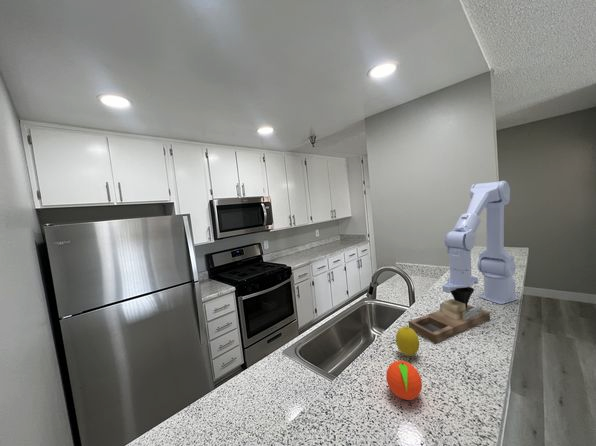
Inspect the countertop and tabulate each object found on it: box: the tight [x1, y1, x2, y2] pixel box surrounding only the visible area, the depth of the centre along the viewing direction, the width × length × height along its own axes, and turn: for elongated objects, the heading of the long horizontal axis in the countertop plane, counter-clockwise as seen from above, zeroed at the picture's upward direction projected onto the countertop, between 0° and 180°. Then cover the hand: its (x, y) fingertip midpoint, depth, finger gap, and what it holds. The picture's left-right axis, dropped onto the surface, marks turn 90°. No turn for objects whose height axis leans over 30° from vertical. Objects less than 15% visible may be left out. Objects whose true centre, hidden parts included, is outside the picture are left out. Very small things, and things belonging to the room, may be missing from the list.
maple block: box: [441, 298, 466, 320], centre depth 75 cm, size 4×4×4 cm
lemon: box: [395, 326, 420, 357], centre depth 62 cm, size 6×6×8 cm
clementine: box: [385, 360, 423, 401], centre depth 49 cm, size 8×7×7 cm
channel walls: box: [439, 298, 482, 321], centre depth 76 cm, size 8×8×2 cm
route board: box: [408, 304, 491, 345], centre depth 74 cm, size 25×9×2 cm, turn 112°
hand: (461, 308), depth 76 cm, fingers closed
